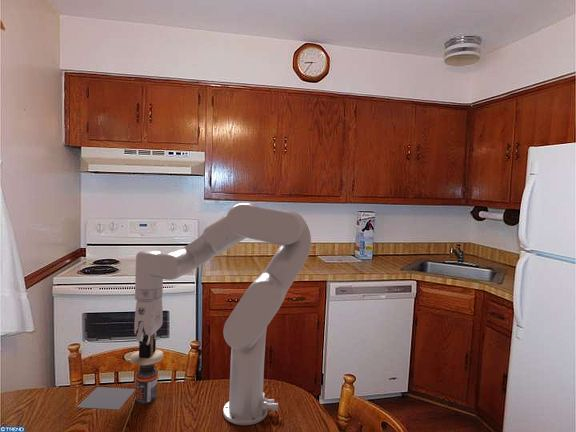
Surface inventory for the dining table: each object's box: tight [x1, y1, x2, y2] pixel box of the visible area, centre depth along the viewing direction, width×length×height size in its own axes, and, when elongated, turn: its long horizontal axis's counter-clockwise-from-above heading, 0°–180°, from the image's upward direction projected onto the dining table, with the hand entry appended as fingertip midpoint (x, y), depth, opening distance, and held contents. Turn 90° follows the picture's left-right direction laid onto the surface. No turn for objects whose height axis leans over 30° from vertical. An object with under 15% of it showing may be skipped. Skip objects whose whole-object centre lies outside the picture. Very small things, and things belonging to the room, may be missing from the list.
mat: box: [76, 386, 136, 411], centre depth 108 cm, size 12×11×1 cm
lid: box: [130, 335, 164, 366], centre depth 108 cm, size 9×9×7 cm
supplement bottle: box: [134, 364, 158, 404], centre depth 108 cm, size 6×6×11 cm
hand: (147, 354), depth 108 cm, fingers closed on lid, 3 cm apart
